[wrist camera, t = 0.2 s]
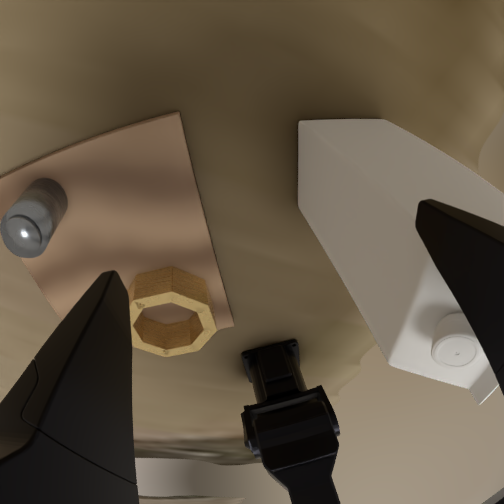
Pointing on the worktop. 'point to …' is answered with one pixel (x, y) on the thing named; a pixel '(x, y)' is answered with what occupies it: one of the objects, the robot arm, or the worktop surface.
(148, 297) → the brass ring
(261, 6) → the worktop surface
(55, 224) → the steel post
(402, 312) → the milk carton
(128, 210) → the copper plate
